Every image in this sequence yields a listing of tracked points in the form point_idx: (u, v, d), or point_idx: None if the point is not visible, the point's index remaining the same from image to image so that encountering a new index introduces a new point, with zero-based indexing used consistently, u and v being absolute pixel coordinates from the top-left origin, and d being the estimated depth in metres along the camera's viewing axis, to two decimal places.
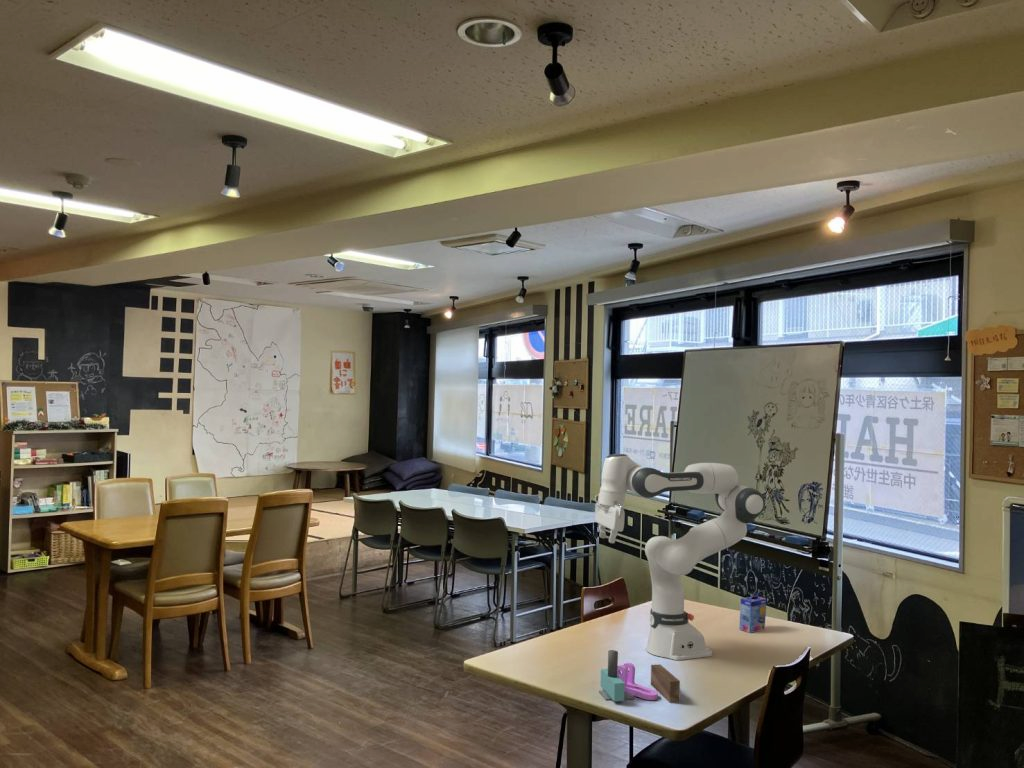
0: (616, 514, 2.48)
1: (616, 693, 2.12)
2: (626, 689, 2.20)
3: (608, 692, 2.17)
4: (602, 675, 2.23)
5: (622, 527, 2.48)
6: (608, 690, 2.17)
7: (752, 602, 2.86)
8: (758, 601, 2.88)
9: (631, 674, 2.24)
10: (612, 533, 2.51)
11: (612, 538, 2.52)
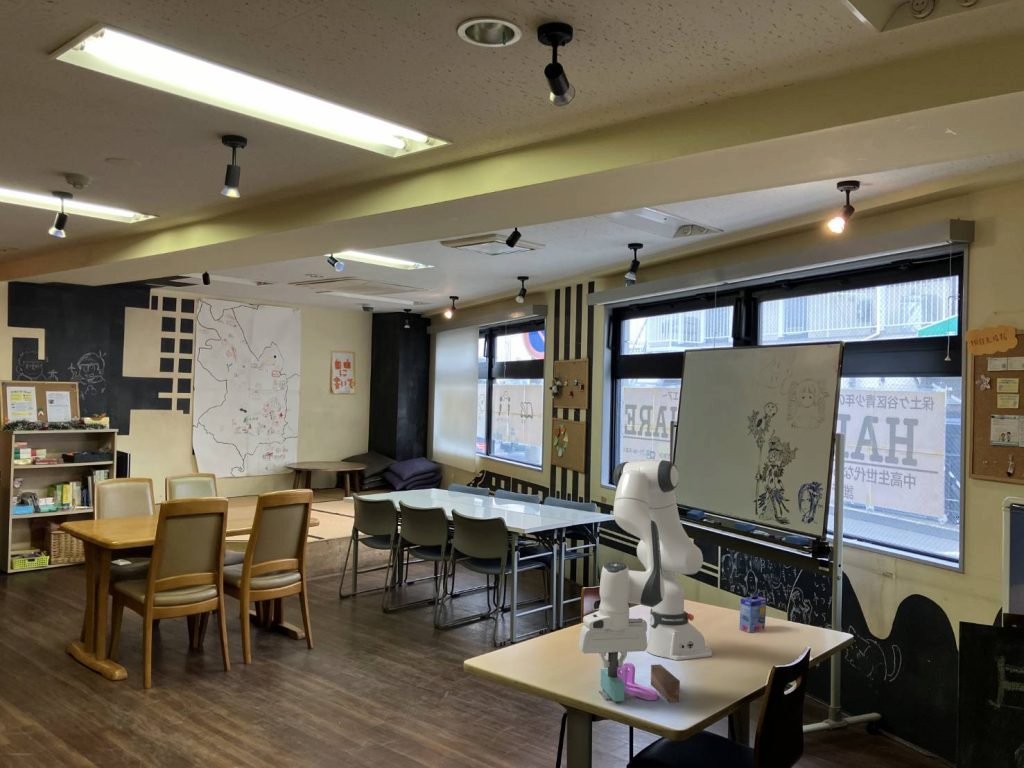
0: None
1: (616, 693, 2.12)
2: (626, 689, 2.20)
3: (608, 692, 2.17)
4: (602, 675, 2.23)
5: None
6: (608, 690, 2.17)
7: (752, 602, 2.86)
8: (758, 601, 2.88)
9: (631, 674, 2.24)
10: None
11: None
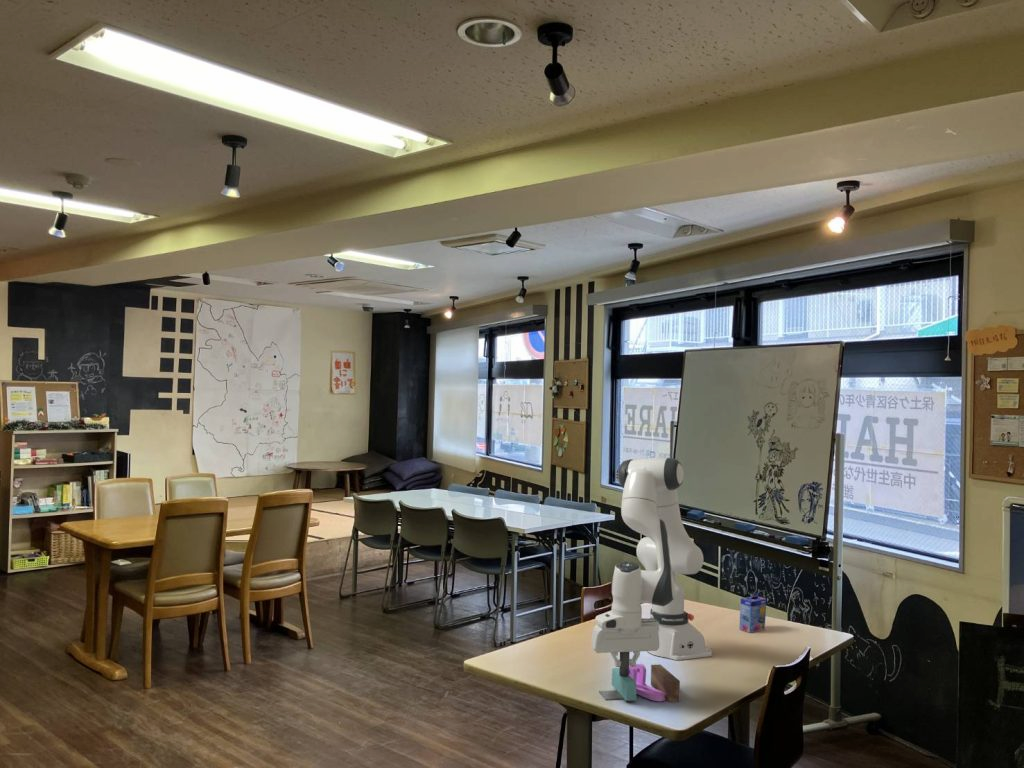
0: None
1: (628, 692, 2.13)
2: None
3: (620, 691, 2.18)
4: (613, 674, 2.23)
5: None
6: (620, 690, 2.18)
7: (752, 602, 2.86)
8: (758, 601, 2.88)
9: (641, 675, 2.24)
10: None
11: None
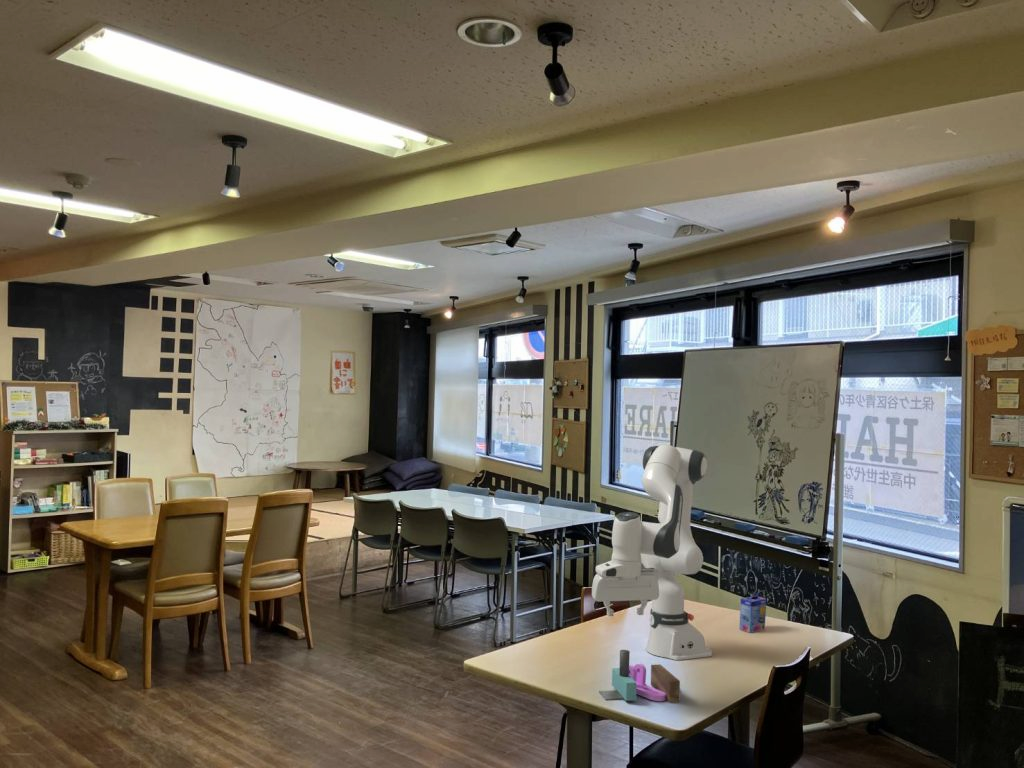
0: None
1: (628, 692, 2.13)
2: None
3: (620, 691, 2.18)
4: (613, 674, 2.23)
5: None
6: (620, 690, 2.18)
7: (752, 602, 2.86)
8: (758, 601, 2.88)
9: (642, 675, 2.24)
10: None
11: None
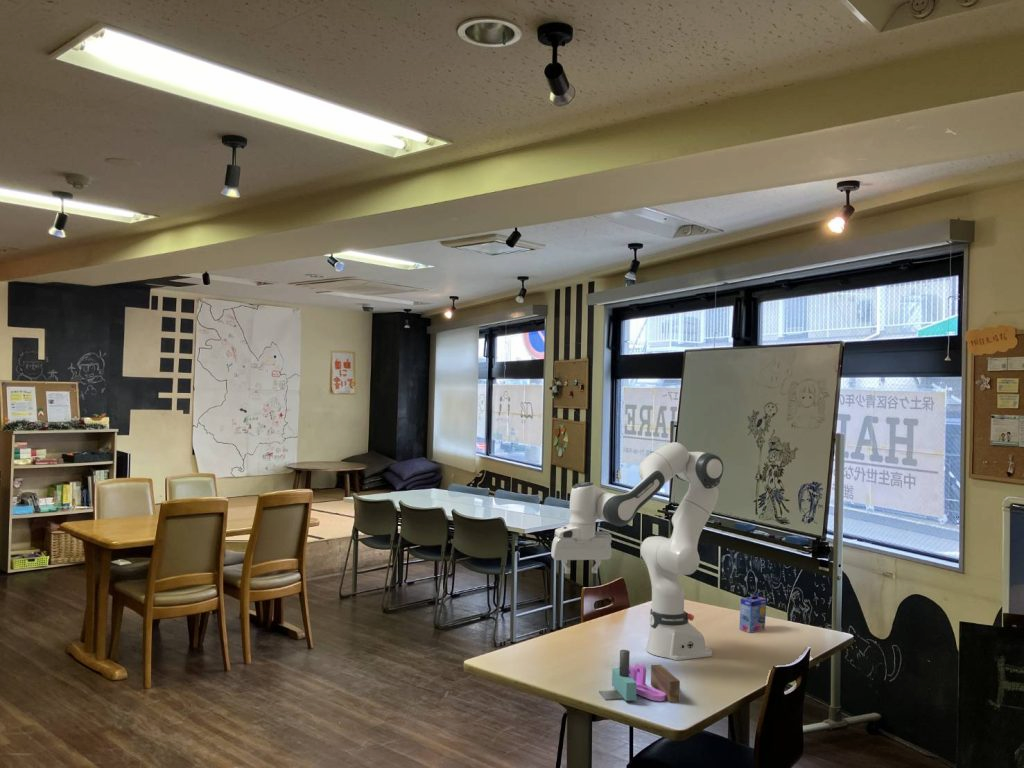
0: None
1: (628, 692, 2.13)
2: None
3: (620, 691, 2.18)
4: (613, 674, 2.23)
5: None
6: (620, 690, 2.18)
7: (752, 602, 2.86)
8: (758, 601, 2.88)
9: (642, 675, 2.24)
10: None
11: None
